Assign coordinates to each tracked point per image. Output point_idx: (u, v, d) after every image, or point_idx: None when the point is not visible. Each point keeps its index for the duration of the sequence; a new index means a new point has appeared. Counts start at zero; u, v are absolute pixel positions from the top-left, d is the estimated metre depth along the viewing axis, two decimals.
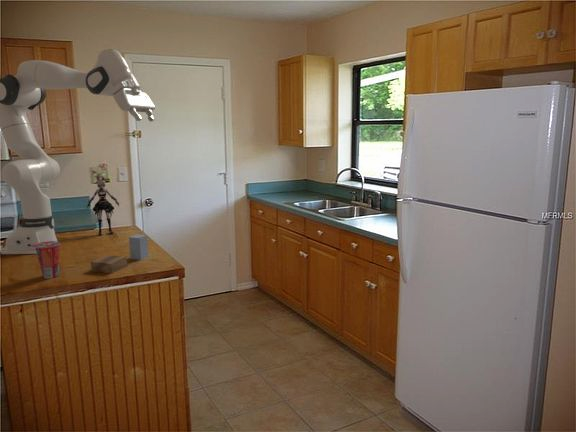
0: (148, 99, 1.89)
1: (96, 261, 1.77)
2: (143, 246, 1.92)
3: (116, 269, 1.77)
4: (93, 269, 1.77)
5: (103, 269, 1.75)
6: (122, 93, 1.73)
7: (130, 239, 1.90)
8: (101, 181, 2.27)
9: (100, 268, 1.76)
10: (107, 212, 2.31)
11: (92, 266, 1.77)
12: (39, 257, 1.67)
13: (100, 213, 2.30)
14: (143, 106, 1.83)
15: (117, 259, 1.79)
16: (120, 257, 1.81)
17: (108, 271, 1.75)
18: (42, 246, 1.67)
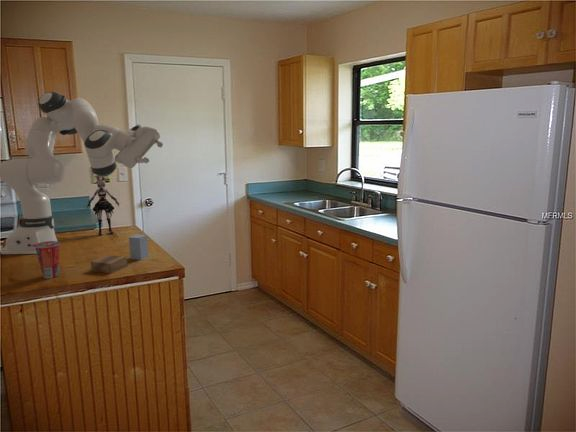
0: None
1: (96, 261, 1.77)
2: (143, 246, 1.92)
3: (116, 269, 1.77)
4: (93, 269, 1.77)
5: (103, 269, 1.75)
6: None
7: (130, 239, 1.90)
8: (101, 181, 2.27)
9: (100, 268, 1.76)
10: (107, 212, 2.31)
11: (92, 266, 1.77)
12: (39, 257, 1.67)
13: (100, 213, 2.30)
14: None
15: (117, 259, 1.79)
16: (120, 257, 1.81)
17: (108, 271, 1.75)
18: (42, 246, 1.67)
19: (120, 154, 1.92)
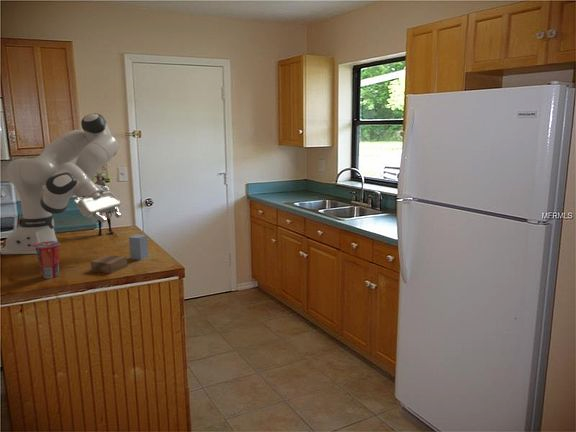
0: None
1: (96, 261, 1.77)
2: (143, 246, 1.92)
3: (116, 269, 1.77)
4: (93, 269, 1.77)
5: (103, 269, 1.75)
6: None
7: (130, 239, 1.90)
8: (101, 181, 2.27)
9: (100, 268, 1.76)
10: (107, 212, 2.31)
11: (92, 266, 1.77)
12: (39, 257, 1.67)
13: None
14: None
15: (117, 259, 1.79)
16: (120, 257, 1.81)
17: (108, 271, 1.75)
18: (42, 246, 1.67)
19: (83, 199, 1.88)
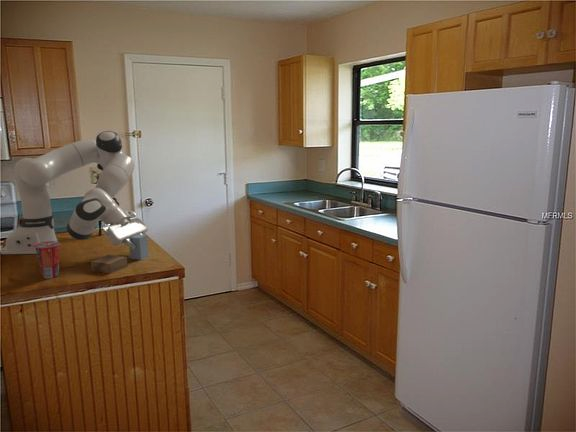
0: None
1: (96, 261, 1.77)
2: (143, 246, 1.92)
3: (115, 269, 1.77)
4: (93, 269, 1.77)
5: (103, 269, 1.75)
6: None
7: (130, 239, 1.90)
8: None
9: (100, 268, 1.76)
10: None
11: (92, 266, 1.77)
12: (39, 257, 1.67)
13: None
14: None
15: (117, 259, 1.79)
16: (120, 257, 1.81)
17: (107, 271, 1.75)
18: (42, 246, 1.67)
19: (112, 227, 1.86)
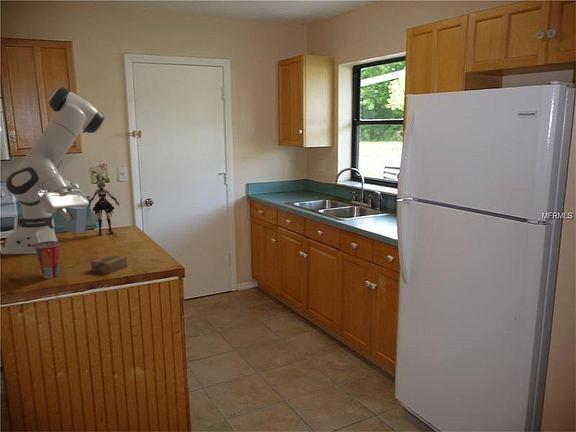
0: None
1: (96, 261, 1.77)
2: (80, 219, 1.79)
3: (115, 269, 1.76)
4: (93, 269, 1.77)
5: (102, 269, 1.75)
6: None
7: (67, 209, 1.78)
8: (101, 181, 2.27)
9: (99, 268, 1.76)
10: (107, 212, 2.31)
11: (92, 265, 1.77)
12: (39, 257, 1.67)
13: (100, 213, 2.30)
14: None
15: (116, 259, 1.79)
16: (120, 257, 1.81)
17: (106, 271, 1.75)
18: (42, 246, 1.67)
19: (48, 193, 1.73)
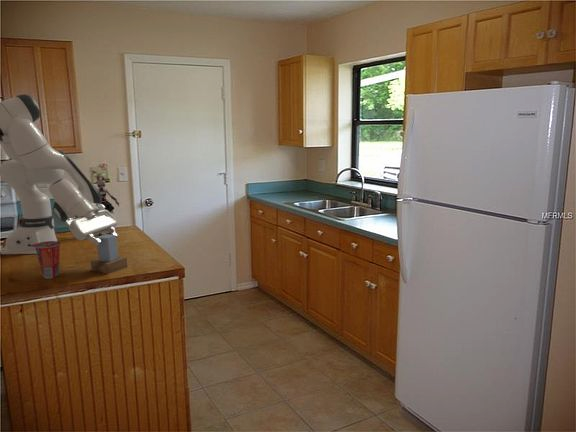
0: None
1: (96, 261, 1.77)
2: (112, 246, 1.77)
3: (114, 270, 1.76)
4: (93, 268, 1.78)
5: (101, 269, 1.75)
6: None
7: None
8: (101, 181, 2.27)
9: (99, 268, 1.76)
10: None
11: (92, 265, 1.78)
12: (39, 257, 1.67)
13: None
14: None
15: (116, 259, 1.79)
16: (120, 258, 1.81)
17: (105, 271, 1.75)
18: (42, 246, 1.67)
19: (76, 220, 1.71)
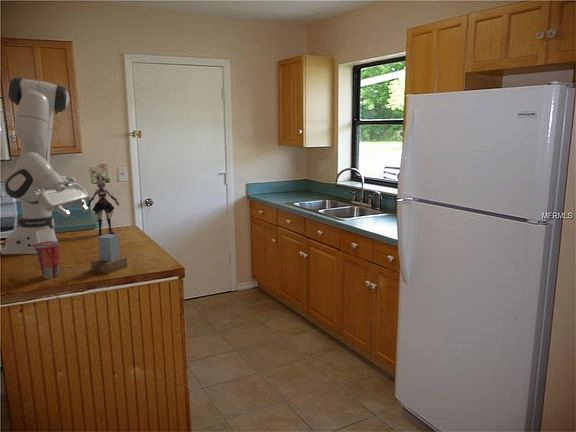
0: None
1: (96, 260, 1.78)
2: (113, 246, 1.77)
3: (114, 270, 1.76)
4: (93, 268, 1.78)
5: (101, 269, 1.76)
6: None
7: (99, 239, 1.76)
8: (101, 181, 2.27)
9: (99, 268, 1.76)
10: (107, 212, 2.31)
11: (92, 265, 1.78)
12: (39, 257, 1.67)
13: (100, 213, 2.30)
14: None
15: (116, 259, 1.79)
16: (120, 258, 1.81)
17: (105, 271, 1.75)
18: (42, 246, 1.67)
19: (44, 192, 1.73)
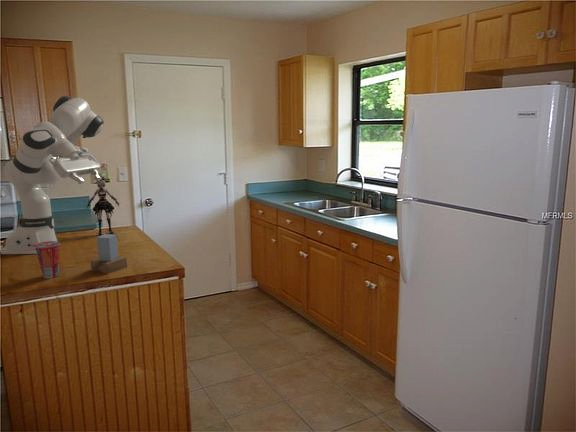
0: None
1: (95, 261, 1.78)
2: (113, 246, 1.78)
3: (113, 270, 1.76)
4: (92, 268, 1.78)
5: (101, 269, 1.75)
6: None
7: (98, 239, 1.76)
8: (101, 181, 2.27)
9: (98, 268, 1.76)
10: (107, 212, 2.31)
11: (91, 265, 1.78)
12: (39, 257, 1.67)
13: (100, 213, 2.30)
14: None
15: (116, 259, 1.79)
16: (120, 258, 1.81)
17: (105, 271, 1.75)
18: (42, 246, 1.67)
19: (60, 159, 1.80)
